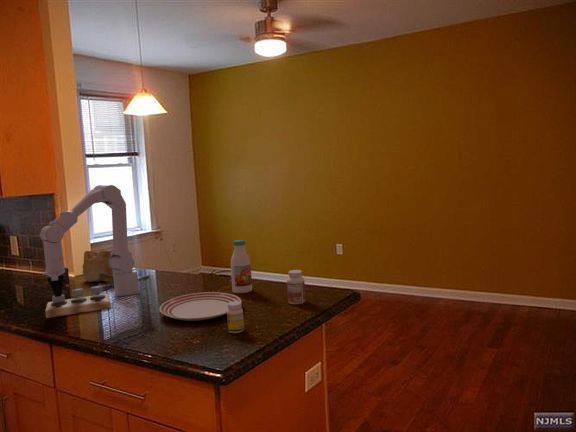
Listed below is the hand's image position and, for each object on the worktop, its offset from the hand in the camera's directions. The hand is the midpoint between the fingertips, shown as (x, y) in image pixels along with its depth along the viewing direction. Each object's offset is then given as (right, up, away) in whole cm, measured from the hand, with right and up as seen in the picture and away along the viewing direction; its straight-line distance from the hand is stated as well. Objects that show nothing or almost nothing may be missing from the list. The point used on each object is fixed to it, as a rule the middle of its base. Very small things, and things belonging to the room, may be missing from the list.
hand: (58, 296), depth 170 cm
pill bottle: (+86, -2, -4) cm, 86 cm away
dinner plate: (+53, -4, -9) cm, 54 cm away
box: (-7, -4, +18) cm, 20 cm away
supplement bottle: (+67, -5, -29) cm, 74 cm away
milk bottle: (+65, -1, +14) cm, 67 cm away
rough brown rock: (+2, -1, +44) cm, 44 cm away
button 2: (+12, 0, +5) cm, 13 cm away
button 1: (0, -2, 0) cm, 2 cm away
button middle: (+6, 0, +3) cm, 7 cm away
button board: (+7, -5, +2) cm, 9 cm away
